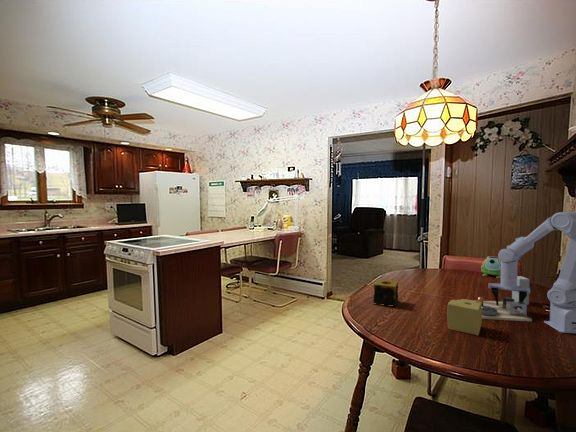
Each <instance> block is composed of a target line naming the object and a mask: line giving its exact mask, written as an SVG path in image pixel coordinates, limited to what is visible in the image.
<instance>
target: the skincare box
mask: <svg viewBox="0 0 576 432" xmlns="http://www.w3.org/2000/svg"><path fill="white" fill-rule="evenodd" d="M517 286H521V287H526V288H530V279H529V278H527V277H524V276H521V275H520V276H519V275H517ZM511 298H513V299H514V302H519V292H517V291H511ZM523 303H525V304H527V306H529V305H530V294H529V293H527V296H526V298H525V299H524V301H523Z"/></svg>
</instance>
